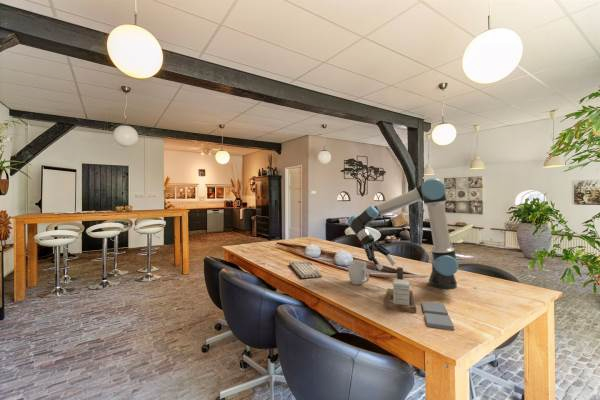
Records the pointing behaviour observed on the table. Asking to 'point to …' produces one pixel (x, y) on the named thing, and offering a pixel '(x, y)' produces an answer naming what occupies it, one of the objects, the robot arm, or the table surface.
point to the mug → (357, 272)
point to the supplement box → (401, 292)
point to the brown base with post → (399, 306)
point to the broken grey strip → (437, 315)
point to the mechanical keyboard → (304, 270)
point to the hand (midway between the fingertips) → (388, 266)
